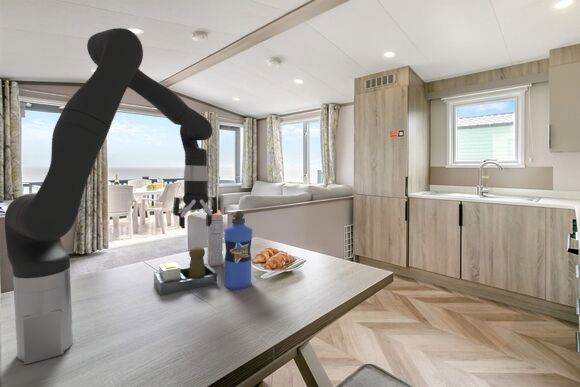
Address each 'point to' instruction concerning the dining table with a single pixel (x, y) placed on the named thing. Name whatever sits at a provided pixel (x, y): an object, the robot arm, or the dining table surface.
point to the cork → (196, 263)
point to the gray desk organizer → (181, 278)
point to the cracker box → (215, 240)
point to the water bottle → (237, 253)
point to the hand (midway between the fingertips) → (195, 227)
